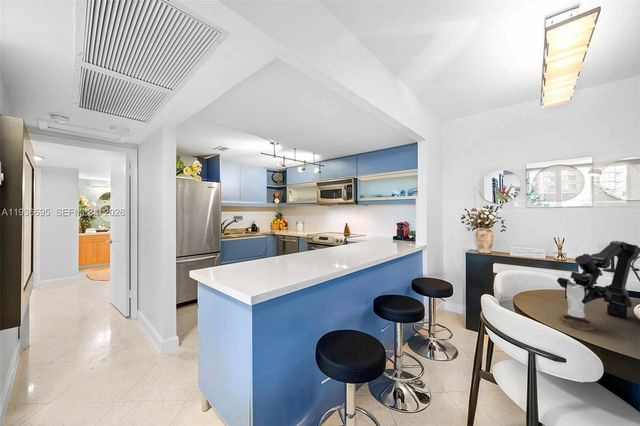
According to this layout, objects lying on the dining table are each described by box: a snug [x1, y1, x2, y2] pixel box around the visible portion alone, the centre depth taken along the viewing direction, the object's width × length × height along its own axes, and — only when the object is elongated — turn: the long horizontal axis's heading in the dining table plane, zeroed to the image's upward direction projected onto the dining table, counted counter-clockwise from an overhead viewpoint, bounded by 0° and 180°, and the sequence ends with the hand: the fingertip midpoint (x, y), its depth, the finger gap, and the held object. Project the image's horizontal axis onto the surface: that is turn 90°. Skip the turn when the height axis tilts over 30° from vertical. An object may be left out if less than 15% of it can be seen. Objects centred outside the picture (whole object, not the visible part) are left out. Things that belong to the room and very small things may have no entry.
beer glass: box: [566, 284, 588, 319], centre depth 122 cm, size 7×7×15 cm
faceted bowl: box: [558, 314, 595, 332], centre depth 122 cm, size 12×12×2 cm
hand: (574, 300), depth 122 cm, fingers closed on beer glass, 6 cm apart
